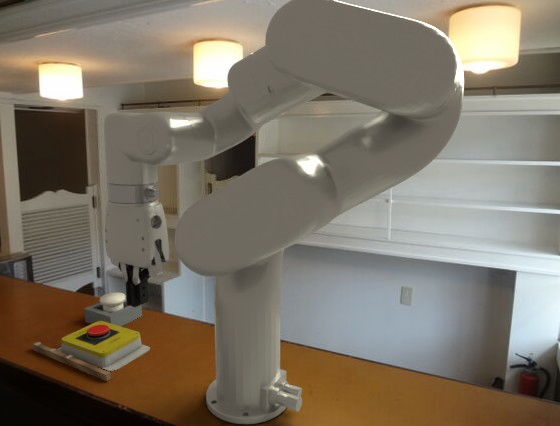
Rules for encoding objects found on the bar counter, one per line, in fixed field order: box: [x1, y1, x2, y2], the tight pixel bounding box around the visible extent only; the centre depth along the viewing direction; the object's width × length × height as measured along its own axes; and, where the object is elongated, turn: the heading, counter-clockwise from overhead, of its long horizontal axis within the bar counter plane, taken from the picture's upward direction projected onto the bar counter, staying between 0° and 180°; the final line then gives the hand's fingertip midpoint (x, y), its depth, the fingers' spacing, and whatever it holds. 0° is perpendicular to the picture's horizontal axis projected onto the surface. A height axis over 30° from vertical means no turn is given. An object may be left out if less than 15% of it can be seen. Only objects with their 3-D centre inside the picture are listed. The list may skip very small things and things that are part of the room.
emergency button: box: [56, 321, 151, 372], centre depth 81 cm, size 9×4×15 cm
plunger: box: [99, 292, 126, 313], centre depth 93 cm, size 5×5×4 cm
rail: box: [32, 341, 112, 382], centre depth 76 cm, size 20×1×1 cm, turn 60°
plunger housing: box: [84, 298, 143, 327], centre depth 93 cm, size 8×8×3 cm
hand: (137, 303), depth 73 cm, fingers closed
